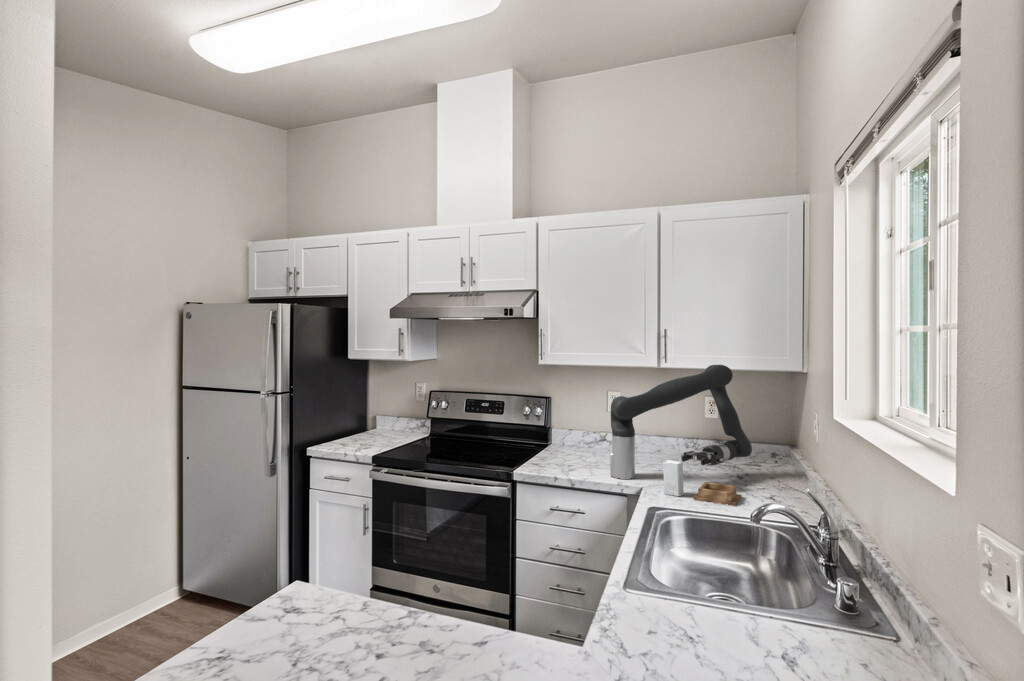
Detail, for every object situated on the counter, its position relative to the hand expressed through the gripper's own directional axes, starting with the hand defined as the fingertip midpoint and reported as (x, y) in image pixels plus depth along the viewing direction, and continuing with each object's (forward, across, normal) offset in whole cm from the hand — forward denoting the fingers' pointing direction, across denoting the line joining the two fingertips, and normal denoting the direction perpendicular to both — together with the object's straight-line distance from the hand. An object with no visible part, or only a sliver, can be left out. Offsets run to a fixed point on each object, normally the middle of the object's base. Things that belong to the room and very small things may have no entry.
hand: (691, 460), depth 210 cm
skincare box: (+12, 0, +11) cm, 16 cm away
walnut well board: (+4, +13, +11) cm, 17 cm away
